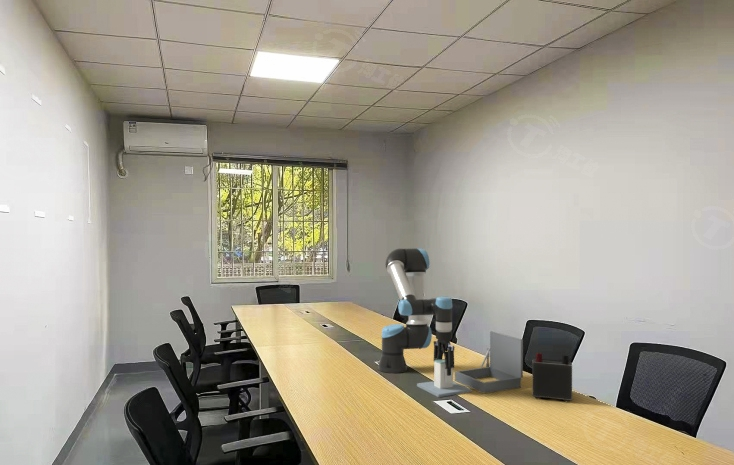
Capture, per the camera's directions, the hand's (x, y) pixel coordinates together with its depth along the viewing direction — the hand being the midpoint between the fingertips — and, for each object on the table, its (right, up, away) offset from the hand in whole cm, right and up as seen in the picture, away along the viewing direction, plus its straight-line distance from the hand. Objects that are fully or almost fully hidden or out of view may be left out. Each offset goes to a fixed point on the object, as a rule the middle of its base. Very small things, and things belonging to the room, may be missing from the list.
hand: (443, 380), depth 230 cm
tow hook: (+28, -5, +31) cm, 42 cm away
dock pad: (0, -4, 0) cm, 4 cm away
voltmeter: (+47, -5, -8) cm, 48 cm away
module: (0, -3, 0) cm, 3 cm away
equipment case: (+22, -4, +9) cm, 24 cm away
